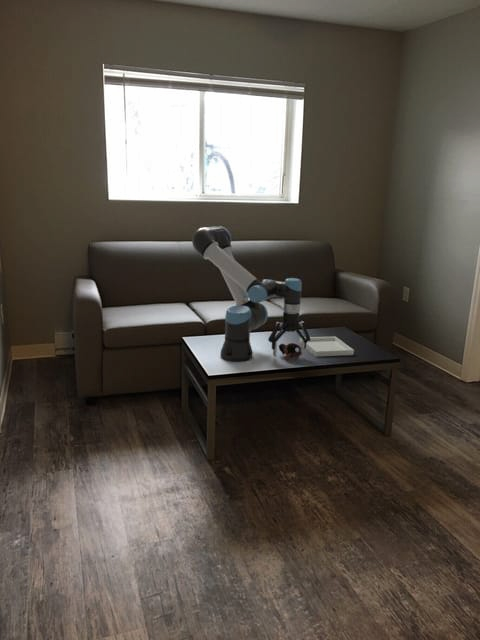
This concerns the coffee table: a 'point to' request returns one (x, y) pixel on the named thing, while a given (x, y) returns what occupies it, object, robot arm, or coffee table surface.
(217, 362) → the coffee table surface
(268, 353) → the coffee table surface
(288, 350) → the pottery mug
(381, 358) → the coffee table surface
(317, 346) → the parts tray
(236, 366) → the coffee table surface
